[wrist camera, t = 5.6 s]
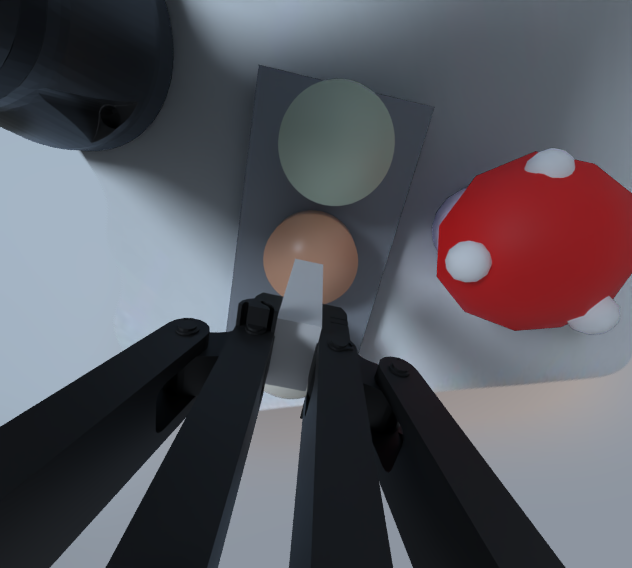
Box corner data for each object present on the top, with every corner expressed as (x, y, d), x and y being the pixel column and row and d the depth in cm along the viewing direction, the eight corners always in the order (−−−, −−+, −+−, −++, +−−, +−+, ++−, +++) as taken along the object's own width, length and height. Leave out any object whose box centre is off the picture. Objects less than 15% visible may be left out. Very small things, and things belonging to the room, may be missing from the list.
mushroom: (390, 189, 25) (443, 210, 14) (532, 129, 23) (726, 95, 12) (428, 302, 28) (494, 392, 17) (554, 257, 26) (721, 324, 15)
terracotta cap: (262, 285, 25) (256, 295, 23) (276, 201, 22) (271, 205, 20) (343, 301, 25) (345, 314, 23) (365, 221, 23) (369, 226, 21)
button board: (229, 343, 30) (219, 361, 28) (264, 73, 22) (255, 60, 19) (348, 367, 31) (350, 387, 28) (425, 111, 23) (439, 104, 20)
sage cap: (275, 190, 21) (269, 192, 19) (293, 76, 18) (289, 65, 16) (371, 211, 21) (376, 216, 19) (401, 102, 19) (410, 94, 17)
